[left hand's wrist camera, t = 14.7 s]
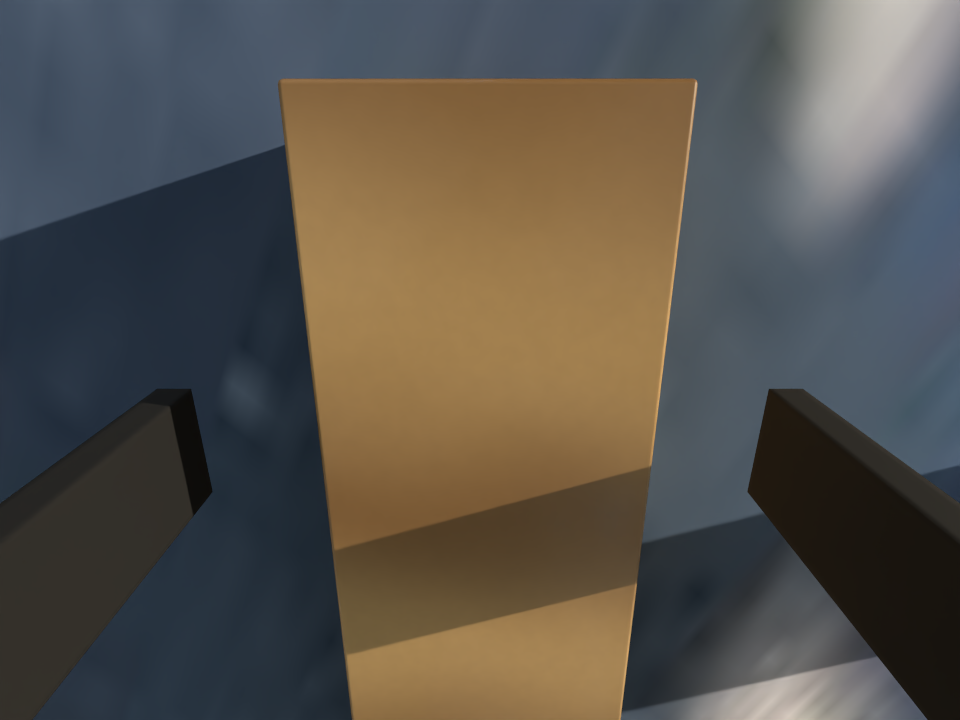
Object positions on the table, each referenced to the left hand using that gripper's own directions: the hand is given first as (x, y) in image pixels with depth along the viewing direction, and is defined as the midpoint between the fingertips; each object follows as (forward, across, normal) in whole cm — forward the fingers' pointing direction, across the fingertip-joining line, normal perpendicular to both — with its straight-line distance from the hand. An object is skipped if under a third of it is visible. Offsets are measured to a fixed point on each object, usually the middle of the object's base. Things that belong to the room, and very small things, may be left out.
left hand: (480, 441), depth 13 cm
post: (+5, 0, -18) cm, 19 cm away
